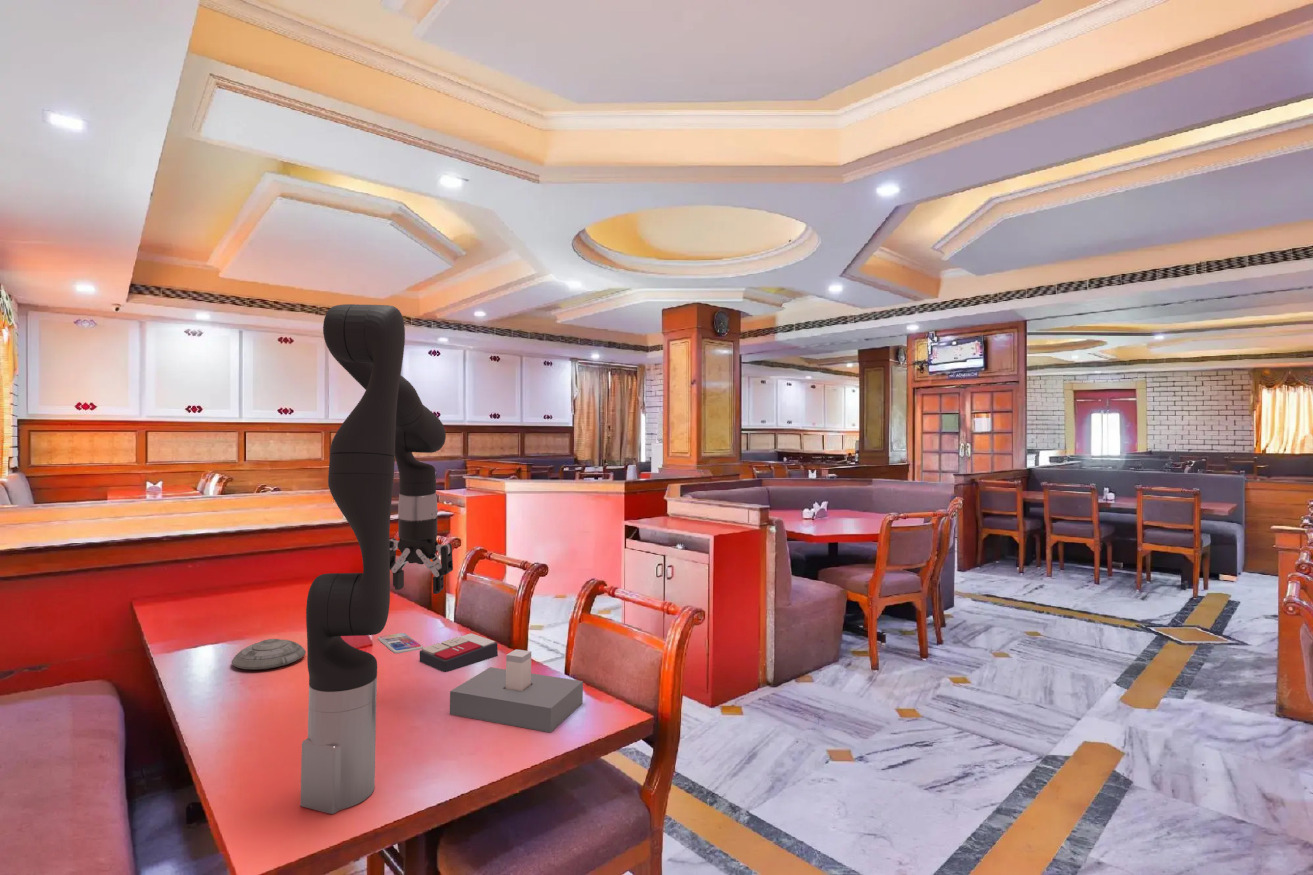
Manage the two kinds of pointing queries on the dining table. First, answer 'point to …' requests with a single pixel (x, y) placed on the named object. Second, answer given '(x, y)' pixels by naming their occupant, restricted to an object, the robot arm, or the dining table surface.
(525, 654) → the pale square peg
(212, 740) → the dining table surface
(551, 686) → the header
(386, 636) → the smartphone
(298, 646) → the flying saucer
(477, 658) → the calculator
